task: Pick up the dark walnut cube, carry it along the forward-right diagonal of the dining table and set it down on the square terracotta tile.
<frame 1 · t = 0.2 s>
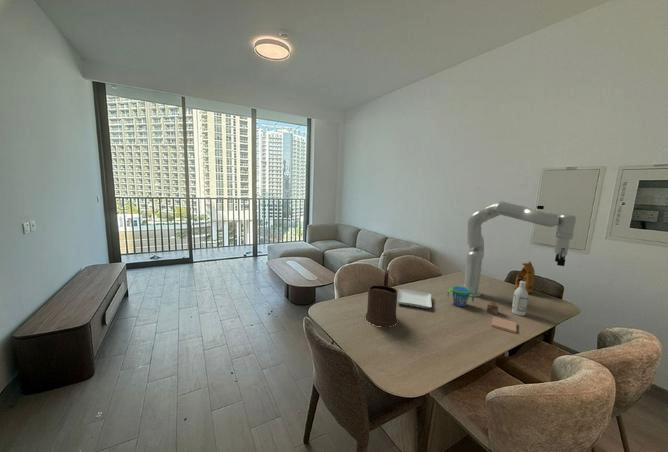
hand: (559, 263, 155), 31 cm above the table, fingers open, 9 cm apart
walnut cube: (492, 312, 157), on the table
terracotta tile: (503, 325, 142), on the table
bath foam: (518, 313, 157), on the table
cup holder: (381, 317, 148), on the table
salad plate: (413, 302, 169), on the table
orange cat figurine: (523, 291, 192), on the table
snack cup: (459, 304, 167), on the table
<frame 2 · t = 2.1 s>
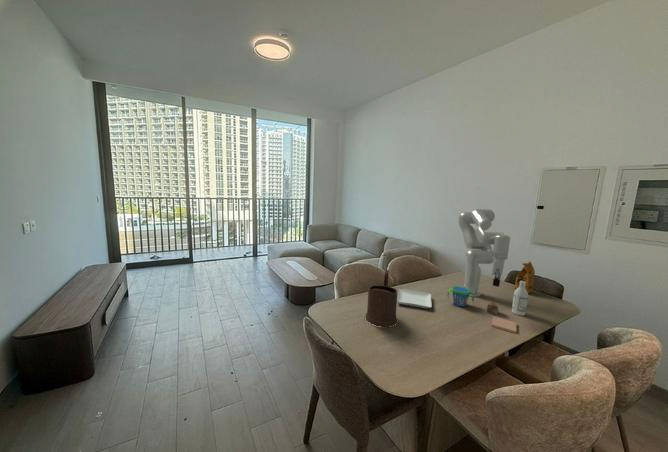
hand: (496, 283, 154), 18 cm above the table, fingers open, 9 cm apart
nothing on the table moved.
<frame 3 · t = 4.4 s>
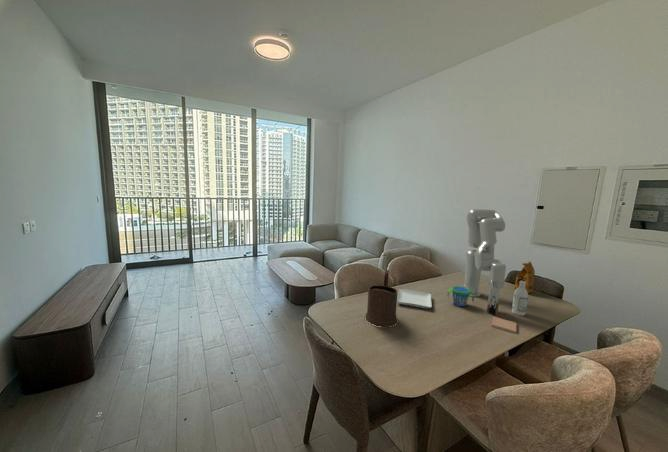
hand: (492, 311, 157), 1 cm above the table, fingers closed on walnut cube, 5 cm apart
walnut cube: (492, 312, 157), on the table, touching gripper
everything else where it was.
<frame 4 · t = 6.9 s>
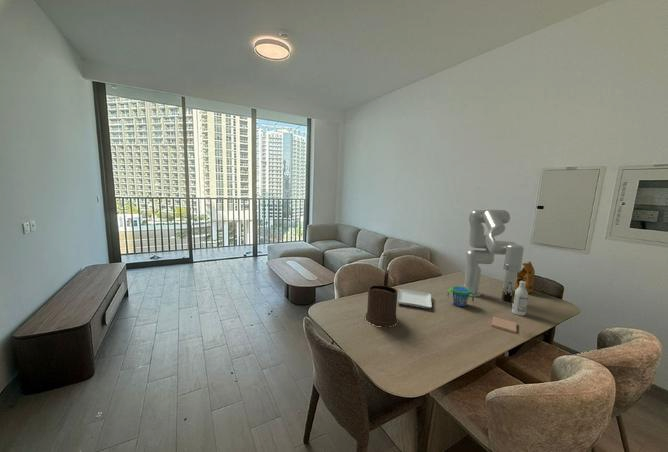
hand: (507, 299, 140), 15 cm above the table, fingers closed on walnut cube, 5 cm apart
walnut cube: (507, 300, 140), point 15 cm above the table, touching gripper
everything else where it was.
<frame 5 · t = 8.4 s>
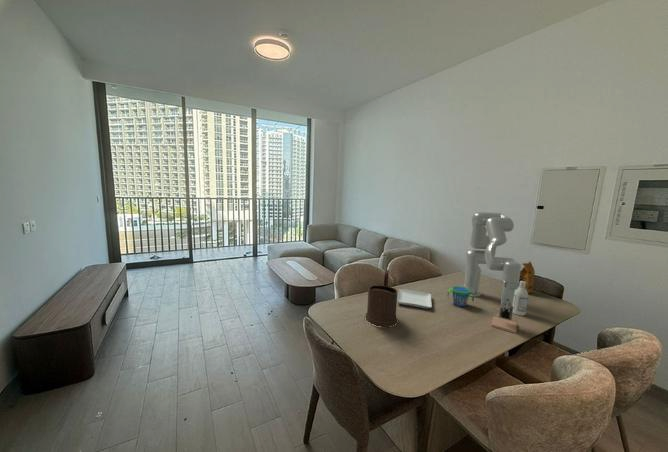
hand: (505, 315, 141), 6 cm above the table, fingers closed on walnut cube, 5 cm apart
walnut cube: (505, 316, 141), point 5 cm above the table, touching gripper
everything else where it was.
when the fingers open (3 cm above the table, at t = 9.5 s): walnut cube drops 1 cm, resting on terracotta tile.
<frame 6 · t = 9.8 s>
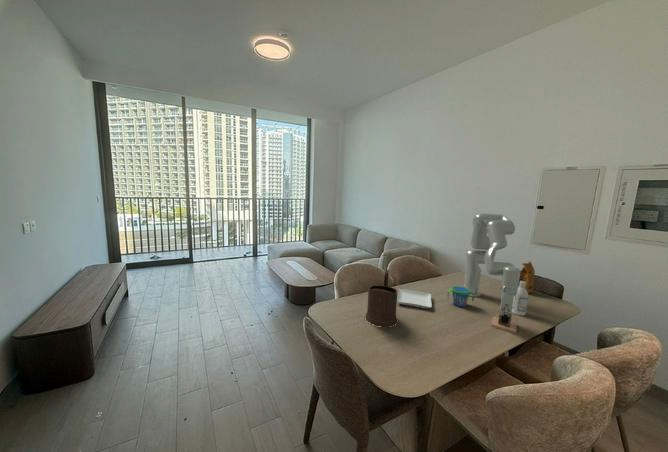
hand: (504, 319, 142), 4 cm above the table, fingers open, 9 cm apart
walnut cube: (504, 323, 142), point 1 cm above the table, touching terracotta tile
everything else where it was.
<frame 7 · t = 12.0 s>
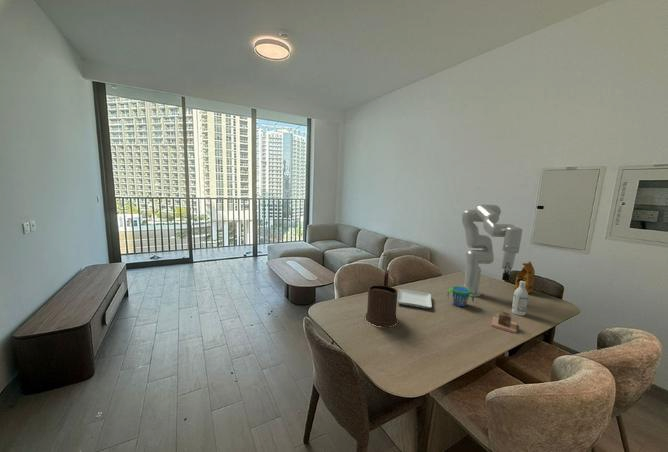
hand: (505, 277, 148), 24 cm above the table, fingers open, 9 cm apart
nothing on the table moved.
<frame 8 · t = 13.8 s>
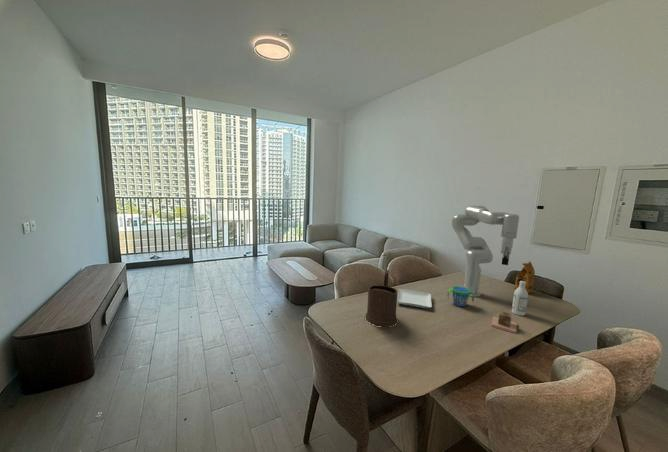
hand: (505, 262, 156), 30 cm above the table, fingers open, 9 cm apart
nothing on the table moved.
at the end: walnut cube inside the target area on the terracotta tile (0.1 cm from its centre), point 1.2 cm above the terracotta tile's base; walnut cube tilted 0°; the gripper is holding nothing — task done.
